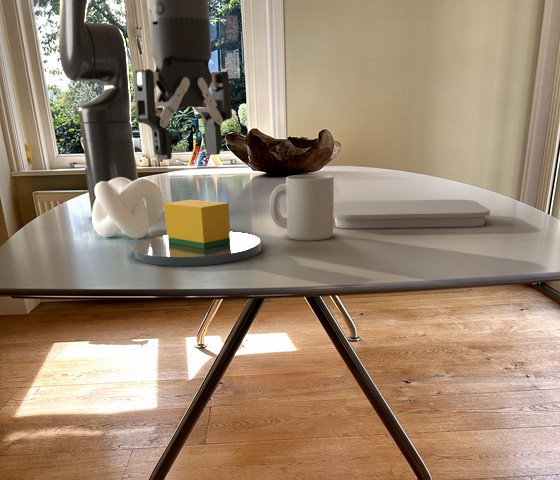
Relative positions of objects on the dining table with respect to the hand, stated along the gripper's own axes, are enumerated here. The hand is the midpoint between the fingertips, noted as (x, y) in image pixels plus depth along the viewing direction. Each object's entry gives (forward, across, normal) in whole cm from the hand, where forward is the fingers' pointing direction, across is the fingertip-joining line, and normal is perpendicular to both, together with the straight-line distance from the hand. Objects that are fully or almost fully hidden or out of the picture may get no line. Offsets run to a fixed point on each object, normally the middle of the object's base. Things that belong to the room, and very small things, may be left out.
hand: (189, 156), depth 81 cm
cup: (+13, -17, +5) cm, 22 cm away
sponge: (+12, 0, 0) cm, 12 cm away
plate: (+13, 0, 0) cm, 13 cm away
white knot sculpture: (+13, -1, -19) cm, 23 cm away
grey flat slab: (+13, -38, +11) cm, 42 cm away
